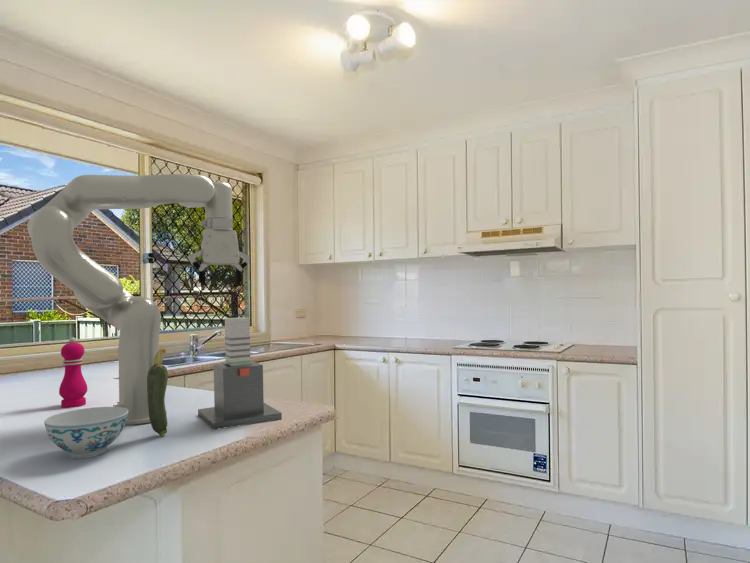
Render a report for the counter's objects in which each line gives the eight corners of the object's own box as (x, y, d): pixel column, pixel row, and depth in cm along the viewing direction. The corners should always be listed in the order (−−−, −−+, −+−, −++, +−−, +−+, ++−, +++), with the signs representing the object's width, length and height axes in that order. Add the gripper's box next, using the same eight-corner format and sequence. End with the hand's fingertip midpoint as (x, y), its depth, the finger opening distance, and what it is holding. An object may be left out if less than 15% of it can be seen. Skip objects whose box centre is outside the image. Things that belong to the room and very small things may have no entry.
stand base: (212, 429, 119) (211, 372, 119) (198, 414, 134) (197, 363, 134) (281, 418, 128) (280, 365, 128) (260, 406, 142) (259, 358, 142)
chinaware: (133, 455, 102) (132, 416, 102) (44, 471, 94) (44, 429, 94) (124, 437, 114) (123, 403, 114) (45, 450, 106) (44, 413, 106)
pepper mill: (74, 408, 145) (73, 338, 145) (53, 407, 146) (52, 338, 146) (93, 402, 152) (92, 336, 152) (72, 402, 153) (71, 336, 154)
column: (231, 391, 127) (229, 319, 127) (225, 388, 132) (224, 318, 132) (251, 389, 130) (249, 318, 130) (245, 386, 134) (243, 317, 134)
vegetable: (148, 439, 112) (146, 349, 113) (147, 434, 116) (145, 347, 117) (170, 436, 114) (168, 347, 115) (168, 431, 118) (166, 346, 119)
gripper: (190, 223, 138) (191, 285, 138) (252, 225, 147) (253, 284, 147) (185, 226, 145) (186, 286, 145) (245, 228, 154) (246, 284, 153)
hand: (220, 285), depth 146 cm, fingers open, 9 cm apart
